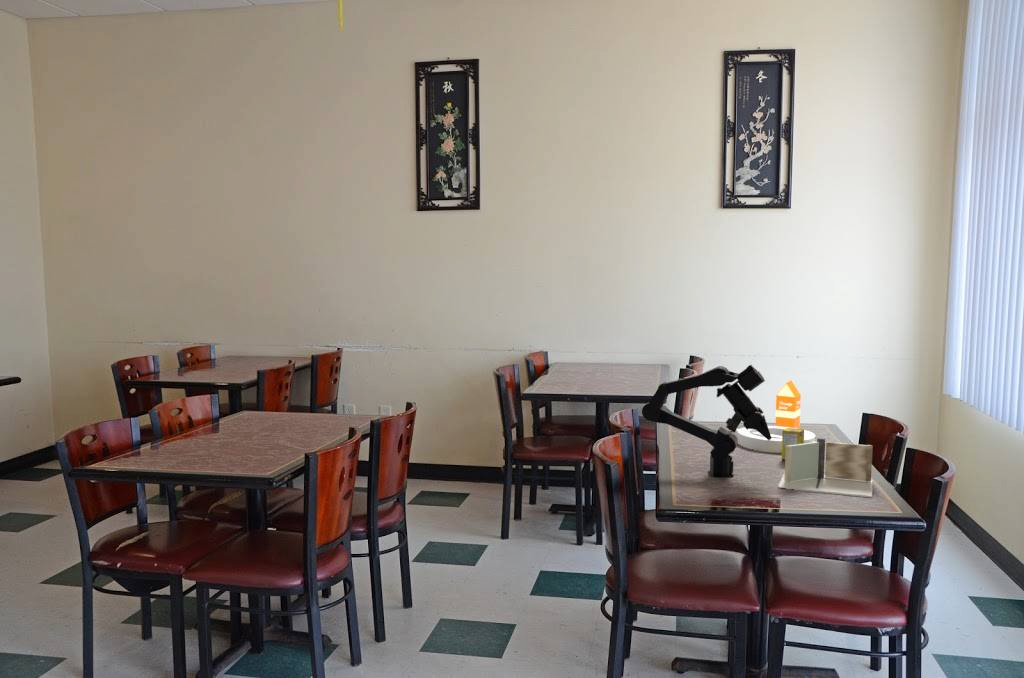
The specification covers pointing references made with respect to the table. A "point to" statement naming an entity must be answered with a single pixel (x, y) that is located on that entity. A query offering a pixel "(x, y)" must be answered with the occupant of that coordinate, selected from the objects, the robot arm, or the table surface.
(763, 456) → the table surface
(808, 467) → the pale green flat panel
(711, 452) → the robot arm
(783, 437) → the supplement box
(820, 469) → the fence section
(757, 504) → the table surface
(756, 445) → the ring with crossbar
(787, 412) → the orange juice
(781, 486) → the board
